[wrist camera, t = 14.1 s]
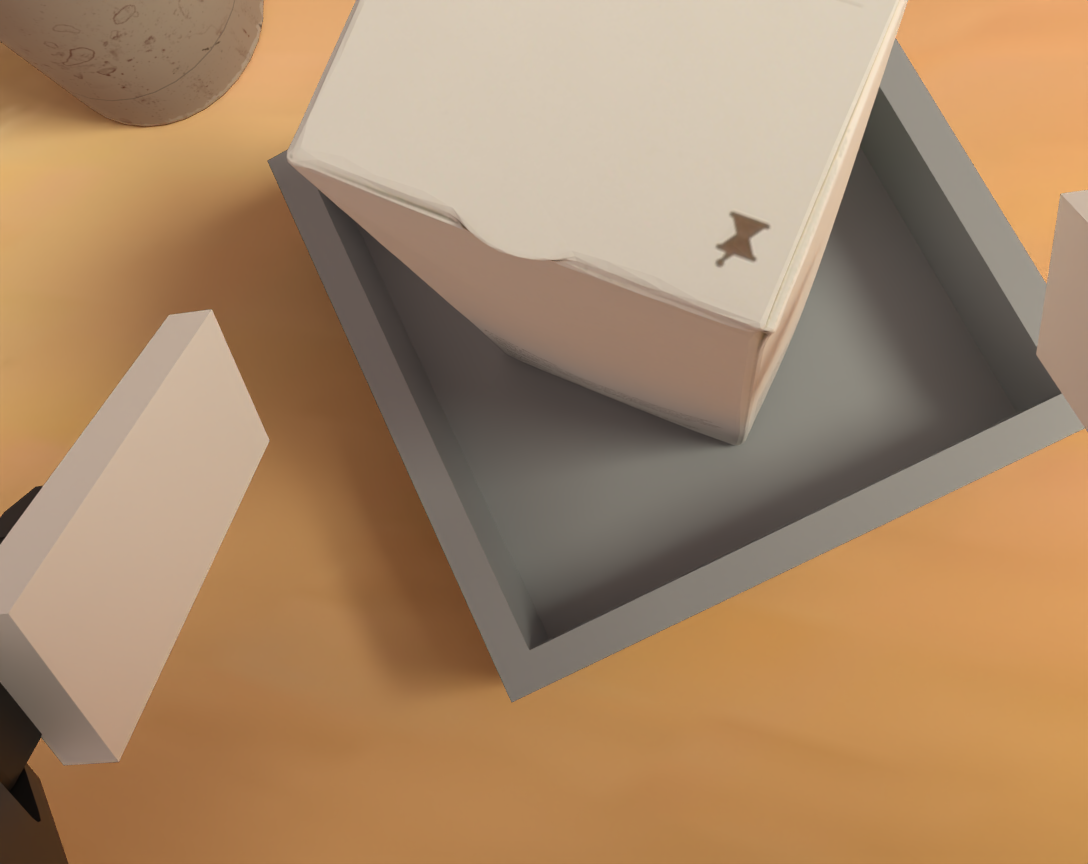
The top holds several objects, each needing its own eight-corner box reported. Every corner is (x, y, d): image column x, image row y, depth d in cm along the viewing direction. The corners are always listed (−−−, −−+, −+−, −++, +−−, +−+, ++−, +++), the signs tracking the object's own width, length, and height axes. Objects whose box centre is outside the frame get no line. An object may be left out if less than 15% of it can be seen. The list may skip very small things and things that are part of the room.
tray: (1057, 431, 28) (1123, 409, 23) (538, 680, 29) (511, 702, 25) (781, -34, 31) (794, -127, 26) (323, 212, 32) (267, 160, 28)
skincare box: (822, 263, 28) (971, -72, 13) (737, 465, 28) (788, 360, 13) (569, 171, 30) (441, -223, 15) (485, 360, 30) (265, 156, 14)
